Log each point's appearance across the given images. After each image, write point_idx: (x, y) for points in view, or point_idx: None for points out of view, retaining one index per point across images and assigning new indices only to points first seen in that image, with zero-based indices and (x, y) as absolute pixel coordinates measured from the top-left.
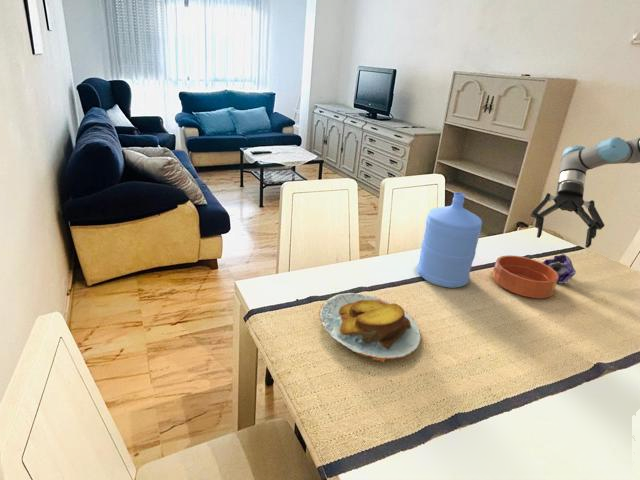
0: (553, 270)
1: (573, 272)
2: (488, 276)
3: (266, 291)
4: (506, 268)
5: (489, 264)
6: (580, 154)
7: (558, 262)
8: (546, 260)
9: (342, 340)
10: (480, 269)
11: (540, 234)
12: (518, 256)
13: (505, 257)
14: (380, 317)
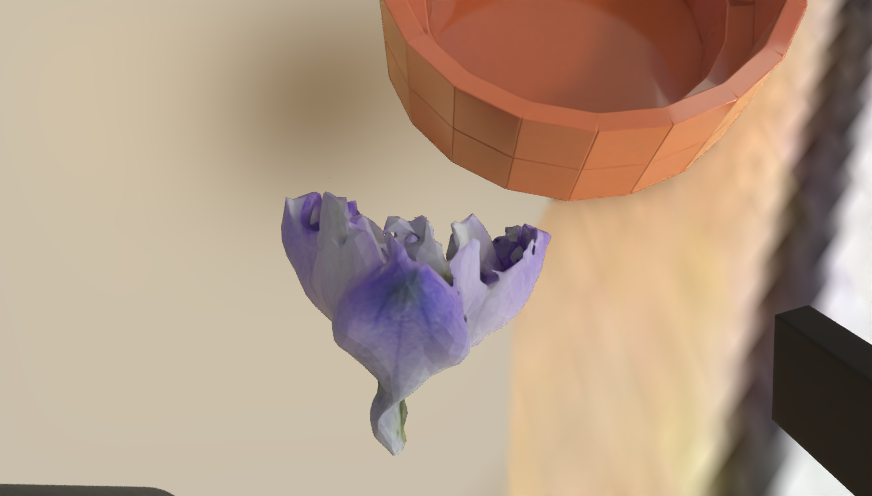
0: (427, 49)
1: (295, 208)
2: None
3: None
4: (708, 68)
5: (835, 169)
6: None
7: (425, 218)
8: (527, 260)
9: None
10: (823, 53)
11: (787, 311)
12: (721, 95)
13: (779, 14)
14: None
